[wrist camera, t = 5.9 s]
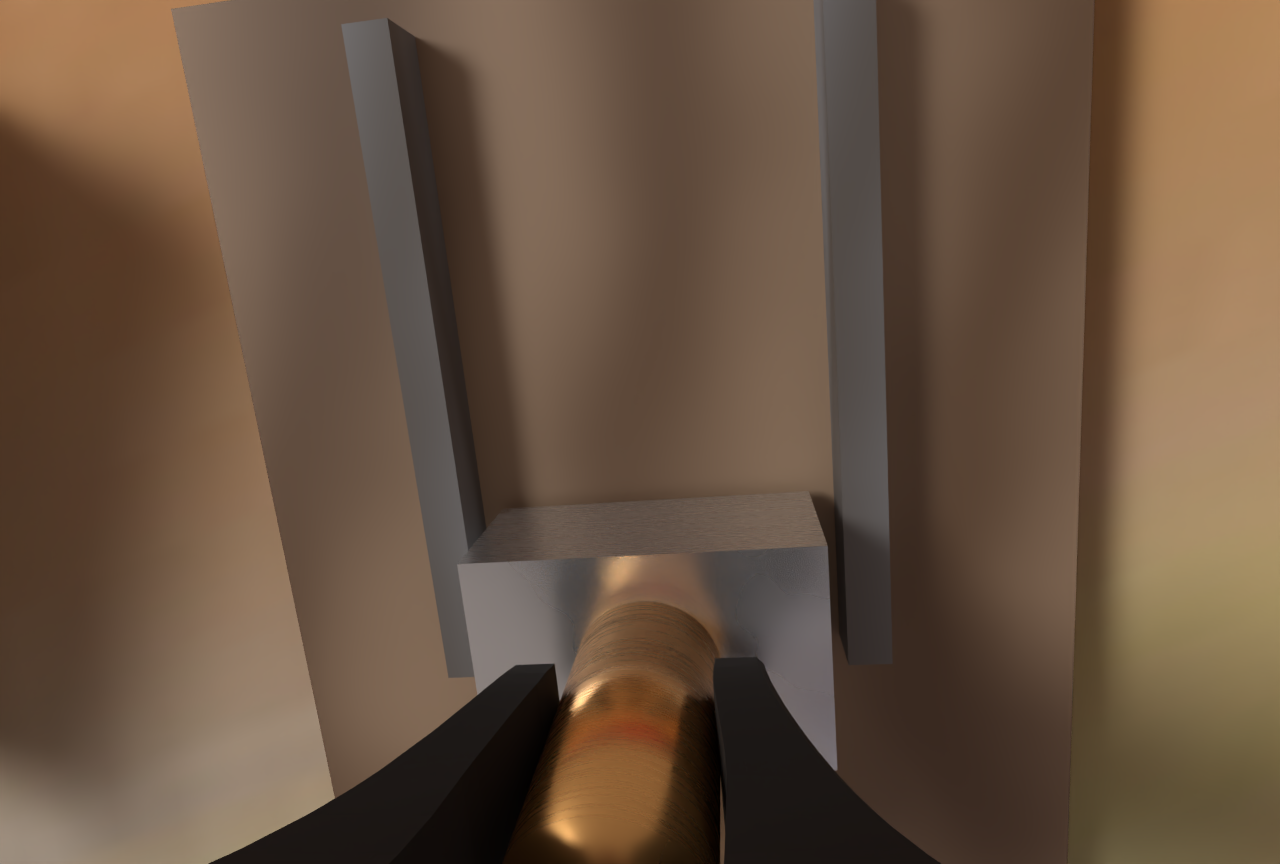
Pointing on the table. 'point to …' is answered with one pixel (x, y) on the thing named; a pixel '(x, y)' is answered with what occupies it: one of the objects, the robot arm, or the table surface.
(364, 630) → the press bench
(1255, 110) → the table surface
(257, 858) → the robot arm
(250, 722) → the table surface
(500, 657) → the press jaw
